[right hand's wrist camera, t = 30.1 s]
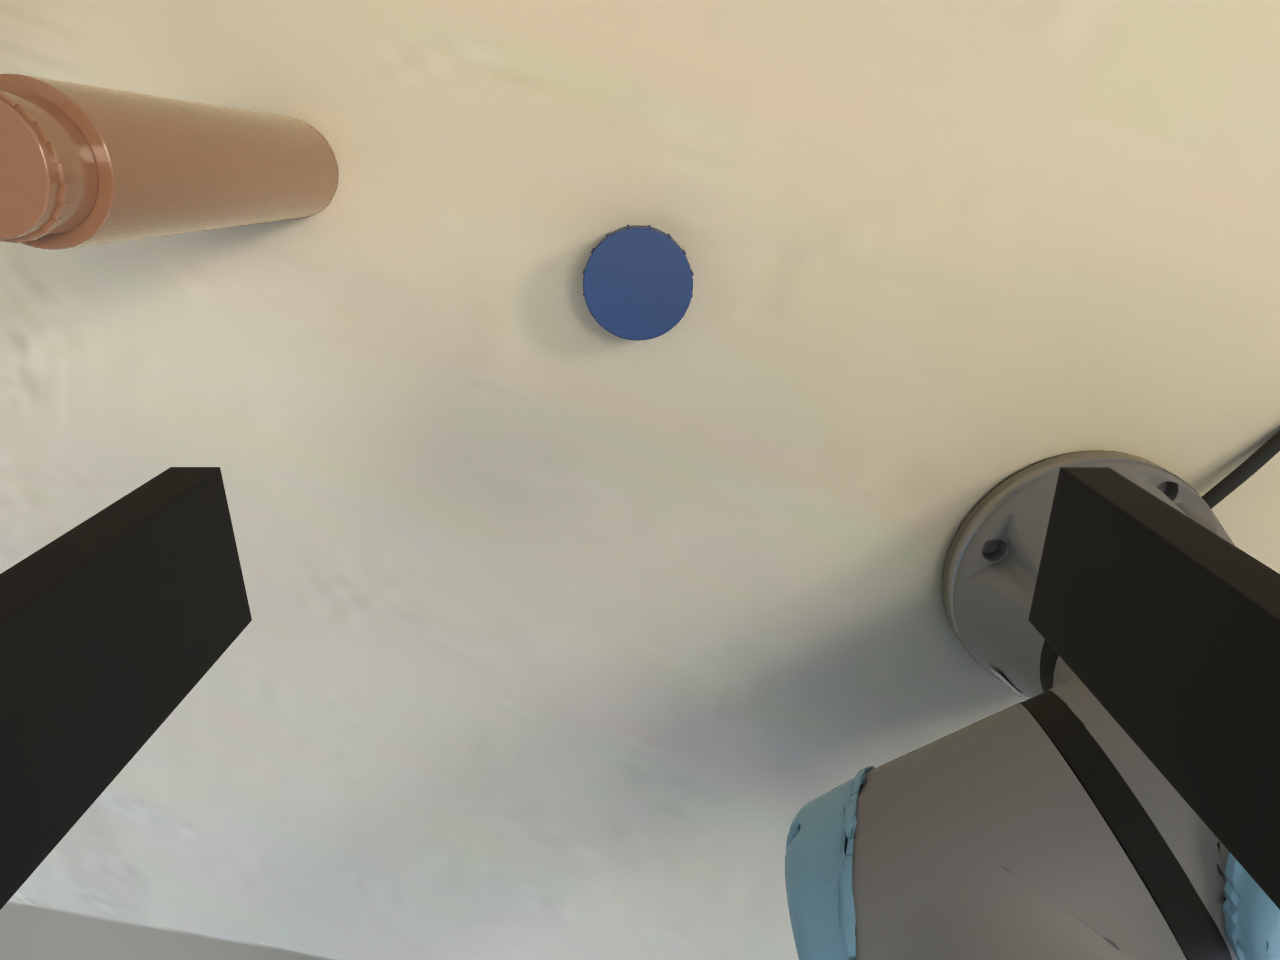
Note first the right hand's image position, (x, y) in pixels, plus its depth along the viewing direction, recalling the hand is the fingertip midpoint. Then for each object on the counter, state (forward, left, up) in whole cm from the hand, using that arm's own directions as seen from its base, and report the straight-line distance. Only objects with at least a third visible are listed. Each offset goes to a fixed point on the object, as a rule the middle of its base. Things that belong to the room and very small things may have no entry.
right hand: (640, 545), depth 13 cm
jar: (+14, -12, -31) cm, 36 cm away
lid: (0, 0, -29) cm, 29 cm away
